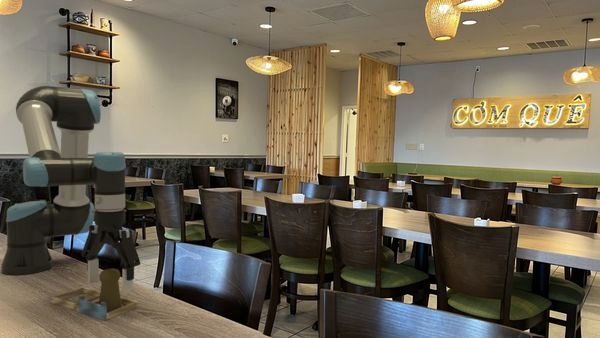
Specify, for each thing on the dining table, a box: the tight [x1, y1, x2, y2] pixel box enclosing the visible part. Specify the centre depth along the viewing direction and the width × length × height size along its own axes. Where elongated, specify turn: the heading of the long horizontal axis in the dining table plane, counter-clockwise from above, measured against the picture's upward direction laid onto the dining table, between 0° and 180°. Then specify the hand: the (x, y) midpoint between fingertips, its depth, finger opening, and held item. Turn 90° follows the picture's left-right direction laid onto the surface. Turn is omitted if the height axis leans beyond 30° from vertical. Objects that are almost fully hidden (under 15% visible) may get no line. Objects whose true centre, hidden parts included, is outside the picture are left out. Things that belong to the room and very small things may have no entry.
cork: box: [99, 268, 123, 313], centre depth 115 cm, size 6×6×11 cm
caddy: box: [49, 286, 139, 321], centre depth 118 cm, size 23×11×4 cm, turn 63°
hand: (110, 287), depth 115 cm, fingers open, 13 cm apart
